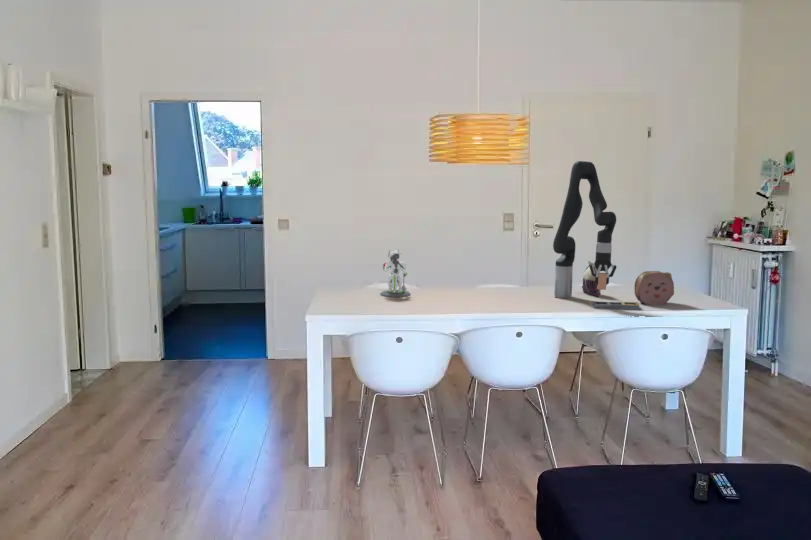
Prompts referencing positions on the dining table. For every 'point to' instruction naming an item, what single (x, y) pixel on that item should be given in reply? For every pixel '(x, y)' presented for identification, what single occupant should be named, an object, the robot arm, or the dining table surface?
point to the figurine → (395, 276)
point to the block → (602, 281)
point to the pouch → (590, 282)
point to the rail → (616, 305)
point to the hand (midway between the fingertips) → (601, 284)
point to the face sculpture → (654, 287)
